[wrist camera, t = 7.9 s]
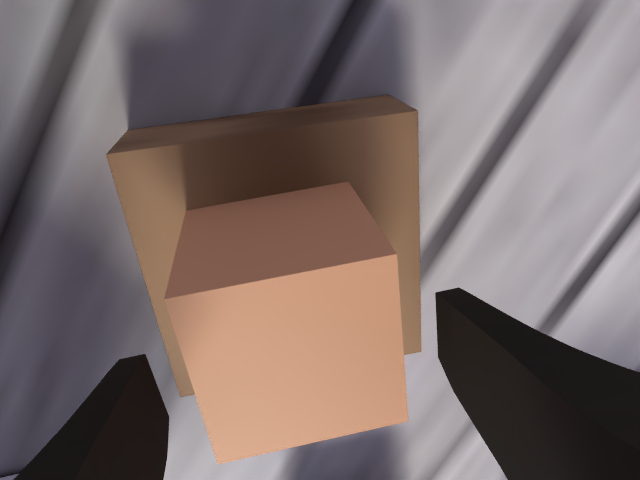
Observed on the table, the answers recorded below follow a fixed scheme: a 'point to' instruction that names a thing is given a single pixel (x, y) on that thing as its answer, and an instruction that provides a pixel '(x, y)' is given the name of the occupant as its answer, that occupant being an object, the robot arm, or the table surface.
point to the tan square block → (271, 184)
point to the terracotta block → (288, 320)
